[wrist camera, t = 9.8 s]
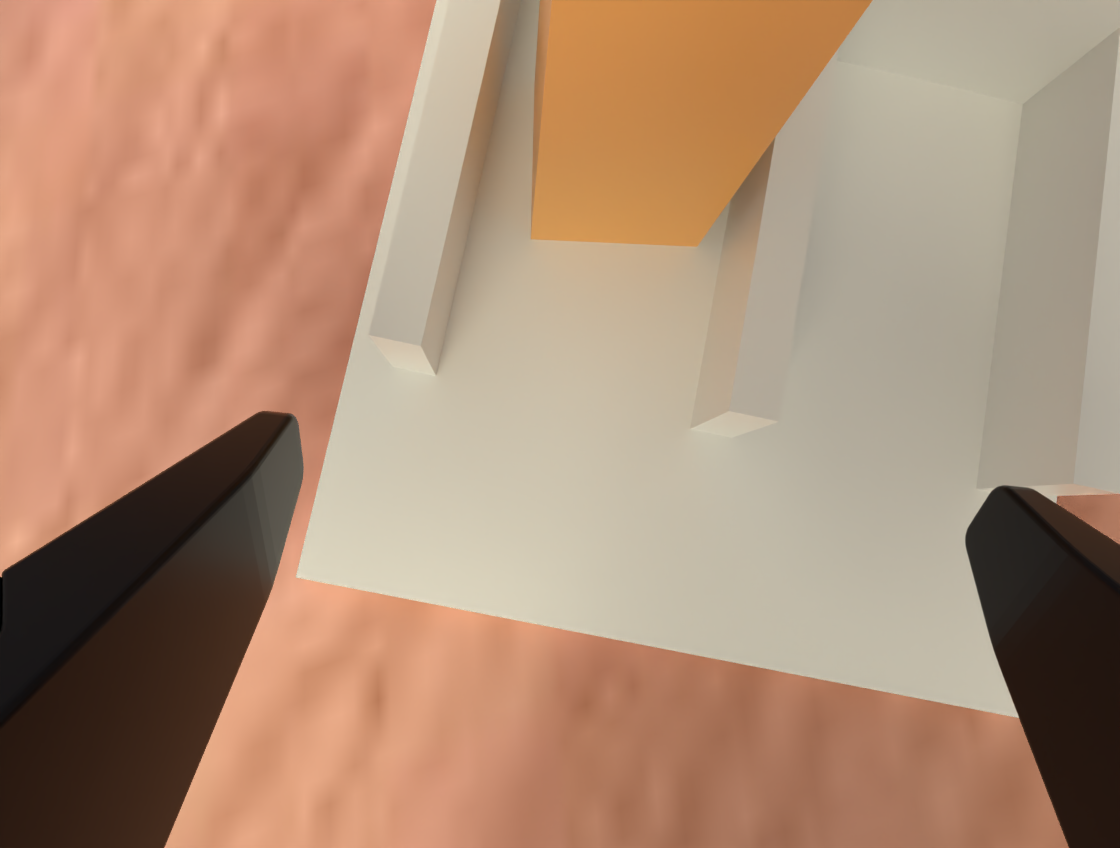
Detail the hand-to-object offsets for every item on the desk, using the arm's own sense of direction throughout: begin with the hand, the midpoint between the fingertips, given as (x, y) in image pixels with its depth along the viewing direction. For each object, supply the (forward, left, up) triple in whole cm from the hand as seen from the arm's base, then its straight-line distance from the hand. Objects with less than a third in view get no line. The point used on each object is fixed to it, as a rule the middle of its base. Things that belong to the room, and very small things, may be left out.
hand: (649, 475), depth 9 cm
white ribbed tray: (+6, 0, -8) cm, 10 cm away
